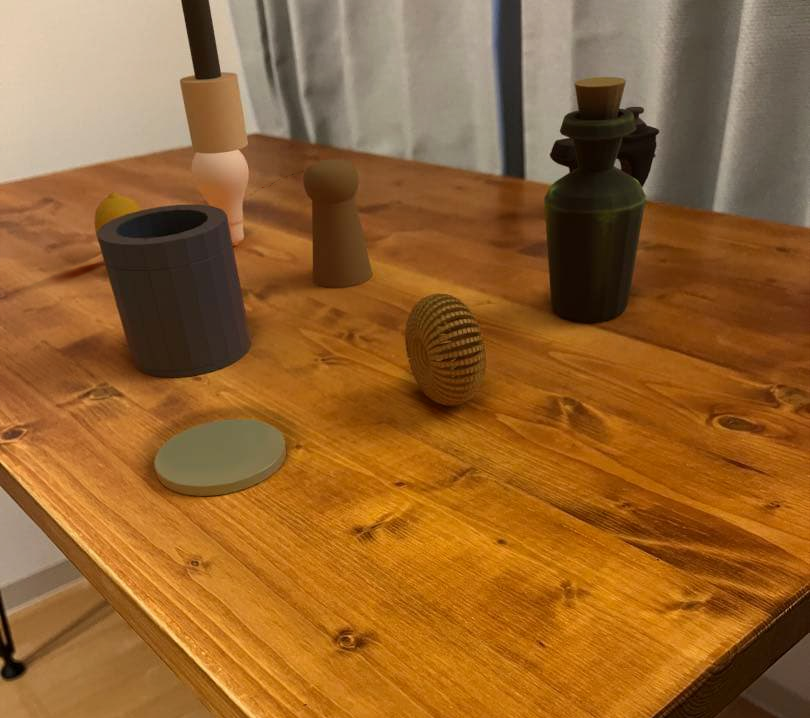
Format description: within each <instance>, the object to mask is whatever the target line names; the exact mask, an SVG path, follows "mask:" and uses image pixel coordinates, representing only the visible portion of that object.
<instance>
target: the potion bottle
mask: <svg viewBox="0 0 810 718" xmlns="http://www.w3.org/2000/svg"><path fill="white" fill-rule="evenodd" d="M626 82H627V80H626V78H623V77H617V76H597V77H587V78H583V79H579V80H576V81H575V82H574V88H575V97H576V103H577V109H578V110H574V111H571V112H568V113H566V114H565V115H564V116H563V118H562V119H563V120H562V123H561V126H560V129H559V132H560V134H561V136H564V137H567V138H571V139H573V144H574V149H575V154H576V158H577V163H578V168H576V169H574V170H573V171H571V172H570V171H569V172H568V173H567V174H565V175H564V176H562V177H560V178H558V179H557V180H556V181H554V182H553V183H552V184H551V185H550V187H549V189H548V191H547V192H546V195H545V196H544V198H543V201H544V202H543V203H544V215H545V231H546V246H547V261H548V271H549V272H548V275H549V289H550V304H551V308H552V311H553V312H554V313H555V314H556V315H557V316H559V317H561V318H562V319H564V320H568V321H572V322H580V323H599V322H605V321H609V320H614V319H615V318H618V317H619V316H621V315H622V314H623V313H624V312H625V311H626V309H627V307H628V306H629V299H630V295H631V287H632V282H633V275H634V270H635V264H636V258H637V253H638V247H639V240H640V234H641V228H642V223H643V217H644V210H645V204H646V199H647V195H646V194H645V191H644V189H643V187H641V184H640V183H639V182H638V181H637V180H636V179H635V178H633V177H632V176H630V175H628V174H627V173H625V172H623V171H622V170H621V168H618V167H617V166H615V163H616V160H617V159H616V157H617V154H618V151H619V147H620V144H621V141H622V137H624V136H626V135H628V134H630V133H632V132H634V131H635V130H636V129H637V128H636V123H635V119H634V115H633V113H632V112H631V111H629V110H625V109H626V108H620V107H621V103H622V99H623V95H624V91H625V86H626Z"/></svg>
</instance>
